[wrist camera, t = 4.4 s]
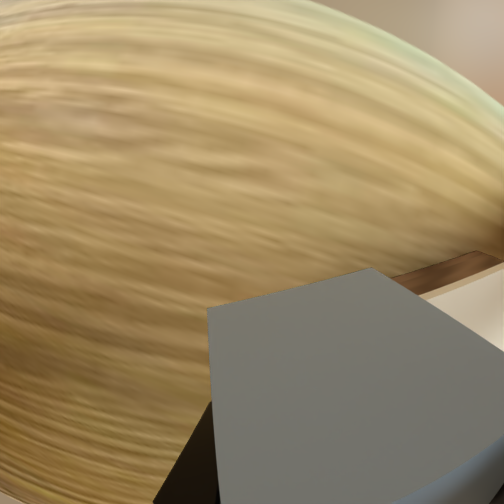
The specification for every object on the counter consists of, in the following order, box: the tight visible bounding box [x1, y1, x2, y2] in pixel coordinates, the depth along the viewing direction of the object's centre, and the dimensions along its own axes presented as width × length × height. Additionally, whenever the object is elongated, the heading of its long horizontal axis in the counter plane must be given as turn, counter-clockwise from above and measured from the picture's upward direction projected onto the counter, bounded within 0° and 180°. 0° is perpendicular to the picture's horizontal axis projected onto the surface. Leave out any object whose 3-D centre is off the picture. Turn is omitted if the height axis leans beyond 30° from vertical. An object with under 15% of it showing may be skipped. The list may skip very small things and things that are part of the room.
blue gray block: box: [207, 267, 504, 504], centre depth 6 cm, size 4×4×6 cm
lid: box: [419, 262, 504, 352], centre depth 17 cm, size 14×16×3 cm
